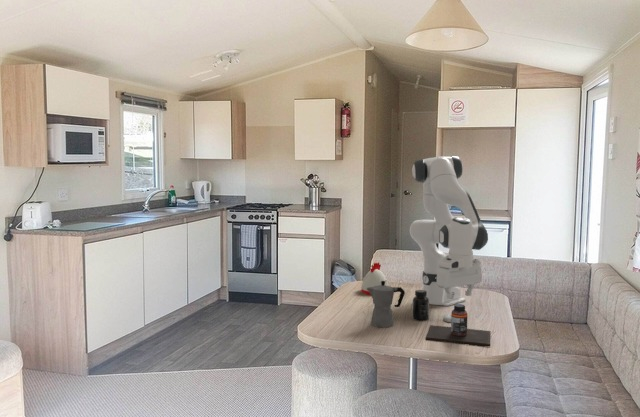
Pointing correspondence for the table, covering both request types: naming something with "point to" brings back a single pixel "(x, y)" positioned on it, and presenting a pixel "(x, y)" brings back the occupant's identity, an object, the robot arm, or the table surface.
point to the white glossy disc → (447, 318)
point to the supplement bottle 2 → (459, 320)
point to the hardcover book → (446, 336)
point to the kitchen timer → (373, 278)
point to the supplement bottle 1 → (420, 306)
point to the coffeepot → (384, 304)
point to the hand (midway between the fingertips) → (459, 297)
